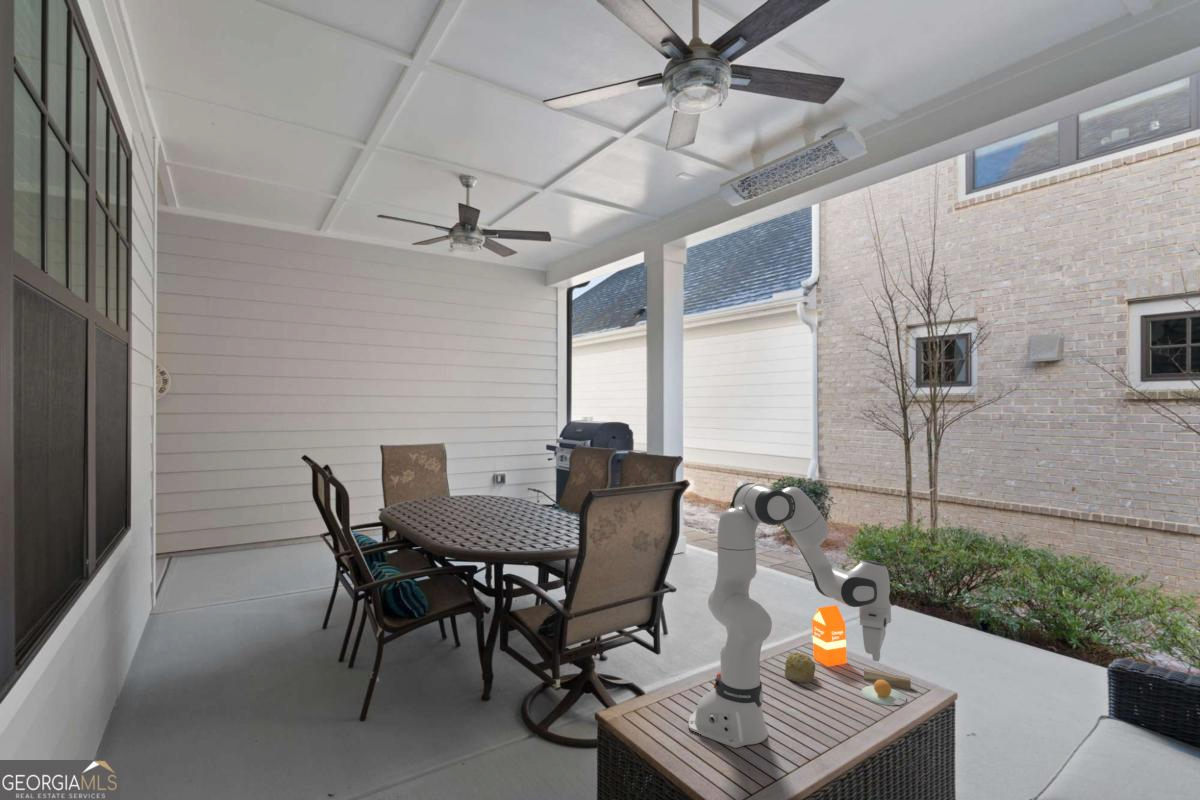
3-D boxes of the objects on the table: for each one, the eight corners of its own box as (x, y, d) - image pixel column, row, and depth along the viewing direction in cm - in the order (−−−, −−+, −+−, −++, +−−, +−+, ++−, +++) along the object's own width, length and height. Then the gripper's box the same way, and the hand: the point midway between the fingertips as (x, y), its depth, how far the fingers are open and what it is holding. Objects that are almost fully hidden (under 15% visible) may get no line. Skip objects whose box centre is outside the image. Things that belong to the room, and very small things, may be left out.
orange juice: (813, 658, 203) (811, 604, 204) (832, 655, 206) (830, 602, 207) (827, 666, 196) (825, 611, 197) (847, 663, 198) (844, 608, 200)
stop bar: (910, 689, 177) (910, 680, 178) (863, 679, 185) (863, 670, 185) (910, 687, 179) (910, 678, 179) (864, 677, 187) (864, 668, 187)
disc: (860, 700, 171) (860, 699, 171) (862, 683, 182) (862, 682, 183) (907, 709, 165) (907, 708, 165) (906, 691, 176) (906, 690, 176)
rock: (800, 680, 193) (785, 652, 197) (825, 672, 186) (809, 644, 190) (788, 692, 186) (772, 663, 190) (814, 684, 180) (798, 655, 183)
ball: (874, 698, 174) (874, 690, 172) (873, 683, 178) (873, 675, 175) (892, 701, 172) (891, 693, 169) (890, 685, 176) (890, 677, 173)
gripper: (868, 603, 176) (869, 646, 175) (858, 621, 159) (860, 669, 158) (889, 606, 172) (891, 650, 172) (882, 625, 155) (884, 674, 155)
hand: (876, 659), depth 165 cm, fingers closed
